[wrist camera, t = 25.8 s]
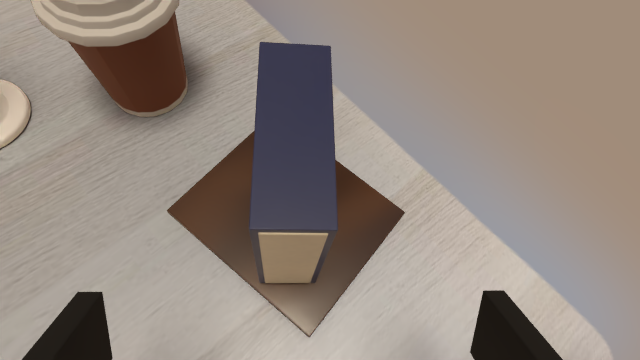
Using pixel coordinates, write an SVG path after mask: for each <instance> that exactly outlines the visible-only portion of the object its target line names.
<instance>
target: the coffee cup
mask: <svg viewBox="0 0 640 360" xmlns="http://www.w3.org/2000/svg"><path fill="white" fill-rule="evenodd" d="M31 3H32V5H33V8H34V11H35V14H36V16H37V18H38V19H39V21H40V22H41V24H43V25H44V26H45V27H46V28H48V29H49V30H50V31H51V32H52V33H54V34H55V35H56V36H57V37H59V38H60V39H63V40H66V41H68V42H69V43H70V44H71V46H72V47H73V48H74V49H75V51H76V52H77V53H78V55H79V56H80V57H81V59H82V60H83V61H84V62H85V64H86V65H87V66H88V68H89V69H90V70H91V71H92V73H93V74H94V75H95V77H96V78H97V79H98V80H99V82H100V83H101V84H102V86H103V87H104V88H105V89H106V91H107V92H108V93H109V95H110V96H111V97H112V99H113V100H114V101H115V103H116V105H118V106H119V107H120V108H121V109H122V110H124V111H125V112H126V113H129V114H132V115H136V116H139V117H151V116H158V115H161V114H164V113H166V112H169V111H171V110H172V109H173V108H175V107H176V106H177V105H179V104H180V103H181V102H182V100H183V98H184V96H185V95H186V93H187V87H188V79H187V76H186V71H185V65H184V60H183V54H182V49H181V43H180V37H179V32H178V26H177V21H176V15H175V10H176V9H177V7H178V6H179V0H31Z"/></svg>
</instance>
